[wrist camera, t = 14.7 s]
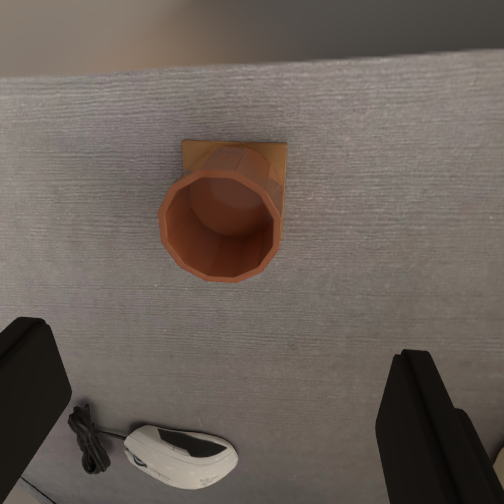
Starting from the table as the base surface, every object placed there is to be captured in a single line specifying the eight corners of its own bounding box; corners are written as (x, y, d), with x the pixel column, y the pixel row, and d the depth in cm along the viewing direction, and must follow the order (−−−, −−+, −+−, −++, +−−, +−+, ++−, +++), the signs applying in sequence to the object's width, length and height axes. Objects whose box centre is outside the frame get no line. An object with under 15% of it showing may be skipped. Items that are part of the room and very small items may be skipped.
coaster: (287, 142, 24) (287, 144, 23) (281, 237, 27) (281, 241, 26) (183, 139, 24) (181, 141, 24) (190, 233, 27) (188, 236, 27)
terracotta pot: (285, 146, 23) (283, 172, 18) (280, 240, 26) (277, 286, 21) (182, 143, 24) (151, 168, 18) (190, 236, 27) (165, 279, 22)
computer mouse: (234, 478, 42) (228, 515, 39) (84, 450, 43) (66, 485, 39) (244, 425, 38) (239, 463, 34) (76, 395, 38) (54, 429, 35)
